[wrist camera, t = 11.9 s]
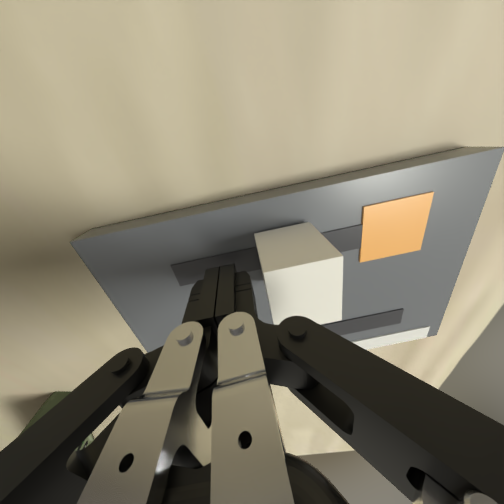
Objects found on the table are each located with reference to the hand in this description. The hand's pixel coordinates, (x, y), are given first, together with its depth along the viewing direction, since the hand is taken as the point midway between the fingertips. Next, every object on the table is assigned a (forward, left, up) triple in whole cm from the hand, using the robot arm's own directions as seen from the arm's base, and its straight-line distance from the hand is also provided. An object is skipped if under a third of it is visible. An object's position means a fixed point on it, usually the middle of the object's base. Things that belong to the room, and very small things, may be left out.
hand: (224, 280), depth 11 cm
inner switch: (0, +4, -2) cm, 4 cm away
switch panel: (+4, +4, -4) cm, 7 cm away
